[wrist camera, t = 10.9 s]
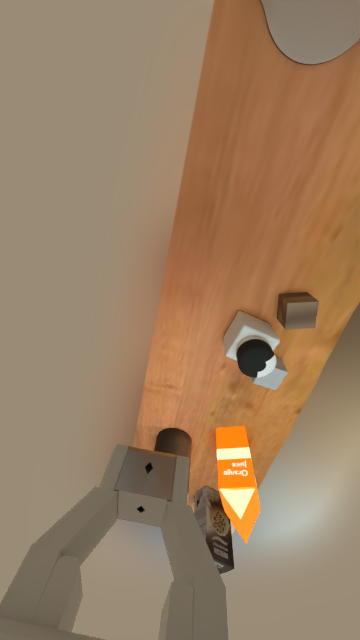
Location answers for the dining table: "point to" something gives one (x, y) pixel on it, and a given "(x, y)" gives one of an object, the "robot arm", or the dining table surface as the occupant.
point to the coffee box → (215, 527)
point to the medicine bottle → (251, 345)
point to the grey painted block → (273, 376)
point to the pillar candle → (174, 444)
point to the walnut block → (297, 310)
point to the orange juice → (237, 479)
